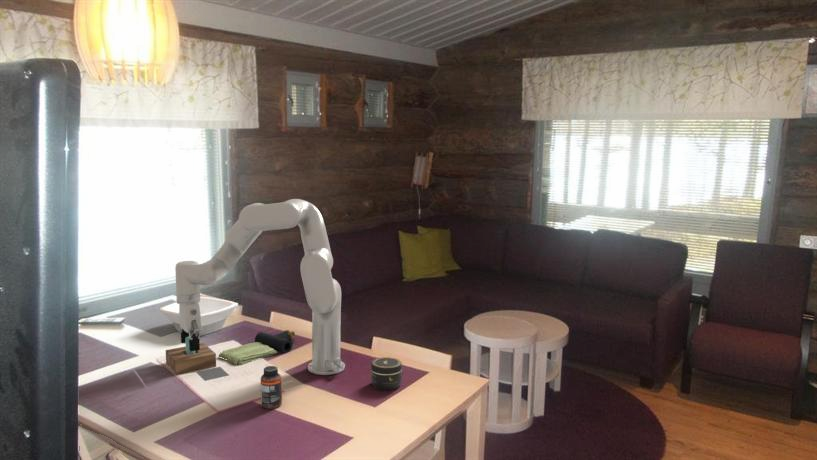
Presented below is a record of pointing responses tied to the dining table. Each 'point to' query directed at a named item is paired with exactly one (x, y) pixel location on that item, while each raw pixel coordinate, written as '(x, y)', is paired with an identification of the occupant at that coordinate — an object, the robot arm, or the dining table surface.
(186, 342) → the peg
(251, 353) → the washcloth
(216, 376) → the mat
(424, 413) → the dining table surface
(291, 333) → the pipe connector
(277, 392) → the supplement bottle
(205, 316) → the bowl
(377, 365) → the jar
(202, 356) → the hole block
